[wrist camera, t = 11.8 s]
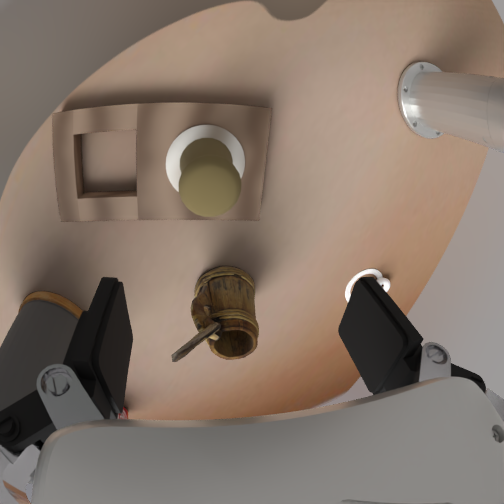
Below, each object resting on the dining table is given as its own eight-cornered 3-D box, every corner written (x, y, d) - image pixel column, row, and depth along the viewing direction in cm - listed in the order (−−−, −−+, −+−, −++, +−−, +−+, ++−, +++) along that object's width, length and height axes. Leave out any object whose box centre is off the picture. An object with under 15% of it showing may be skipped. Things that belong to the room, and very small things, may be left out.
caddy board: (266, 107, 32) (272, 108, 29) (255, 213, 38) (259, 221, 36) (61, 112, 26) (51, 113, 24) (67, 214, 33) (59, 223, 30)
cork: (226, 192, 33) (240, 232, 24) (175, 184, 32) (166, 222, 22) (238, 142, 31) (258, 161, 21) (184, 133, 29) (178, 147, 19)
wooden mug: (203, 233, 38) (213, 328, 23) (265, 289, 45) (300, 382, 29) (160, 273, 40) (149, 374, 25) (223, 321, 47) (240, 416, 31)
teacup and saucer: (391, 275, 50) (402, 287, 46) (367, 307, 53) (377, 320, 49) (360, 261, 46) (372, 274, 43) (336, 298, 49) (345, 312, 46)
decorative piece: (38, 274, 36) (-40, 437, 10) (111, 330, 44) (86, 500, 18) (13, 321, 39) (-39, 452, 13) (74, 365, 47) (50, 499, 21)
